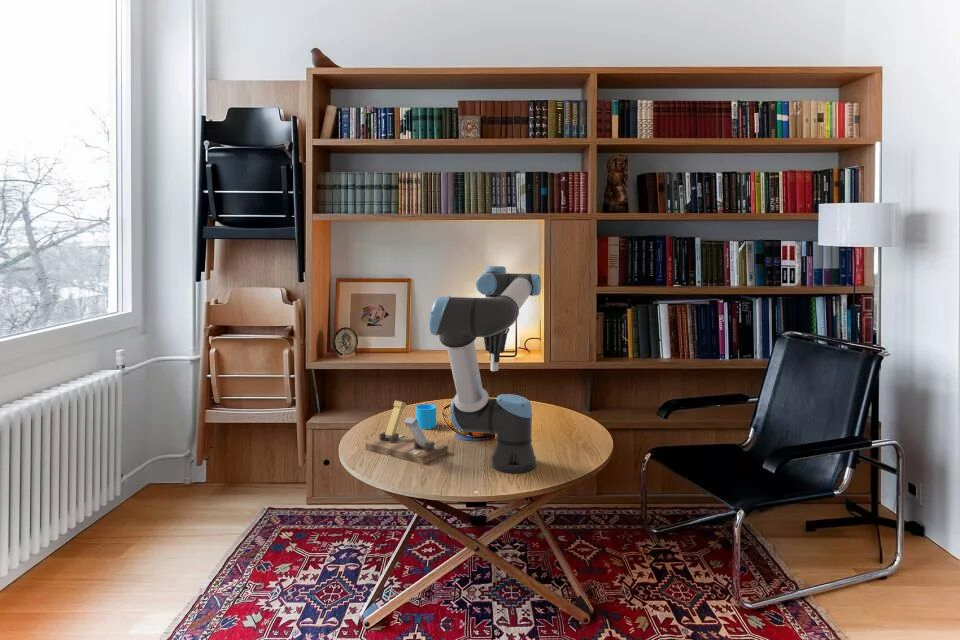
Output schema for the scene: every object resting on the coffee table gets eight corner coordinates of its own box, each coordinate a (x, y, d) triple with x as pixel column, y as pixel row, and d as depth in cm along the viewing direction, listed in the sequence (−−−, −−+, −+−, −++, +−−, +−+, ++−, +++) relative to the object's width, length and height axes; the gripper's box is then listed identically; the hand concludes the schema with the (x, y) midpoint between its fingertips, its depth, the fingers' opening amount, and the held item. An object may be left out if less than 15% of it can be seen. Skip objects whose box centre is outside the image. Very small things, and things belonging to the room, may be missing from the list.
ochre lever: (394, 440, 235) (406, 403, 239) (390, 439, 233) (402, 401, 237) (386, 438, 237) (398, 402, 241) (382, 437, 235) (394, 400, 239)
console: (447, 452, 230) (447, 439, 230) (423, 464, 219) (423, 450, 218) (391, 439, 244) (391, 426, 244) (365, 449, 233) (365, 436, 232)
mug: (436, 429, 257) (436, 409, 256) (416, 430, 256) (415, 409, 255) (435, 420, 269) (435, 401, 267) (415, 421, 268) (415, 401, 267)
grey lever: (430, 444, 227) (416, 418, 219) (427, 450, 226) (412, 423, 217) (422, 442, 229) (407, 416, 221) (419, 448, 228) (404, 421, 219)
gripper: (515, 308, 238) (513, 372, 241) (490, 305, 247) (489, 366, 250) (500, 310, 233) (499, 374, 236) (475, 307, 242) (475, 369, 245)
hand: (494, 370), depth 243 cm, fingers closed
